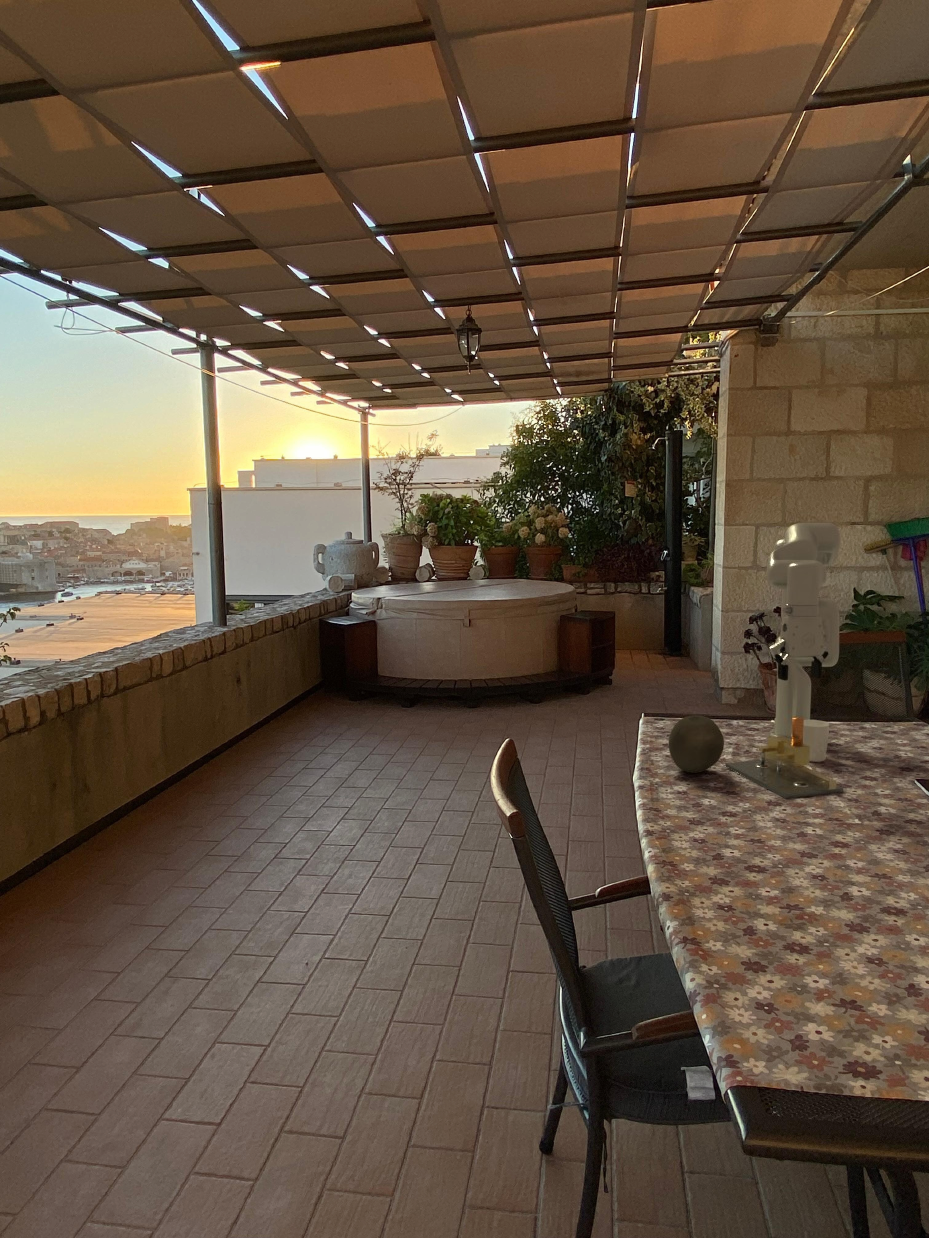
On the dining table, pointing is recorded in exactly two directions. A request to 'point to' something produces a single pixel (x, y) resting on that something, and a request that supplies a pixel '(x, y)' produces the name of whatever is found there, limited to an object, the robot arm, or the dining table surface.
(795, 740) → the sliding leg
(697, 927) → the dining table surface
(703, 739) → the dimpled olive sphere
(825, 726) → the white cup
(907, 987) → the dining table surface
